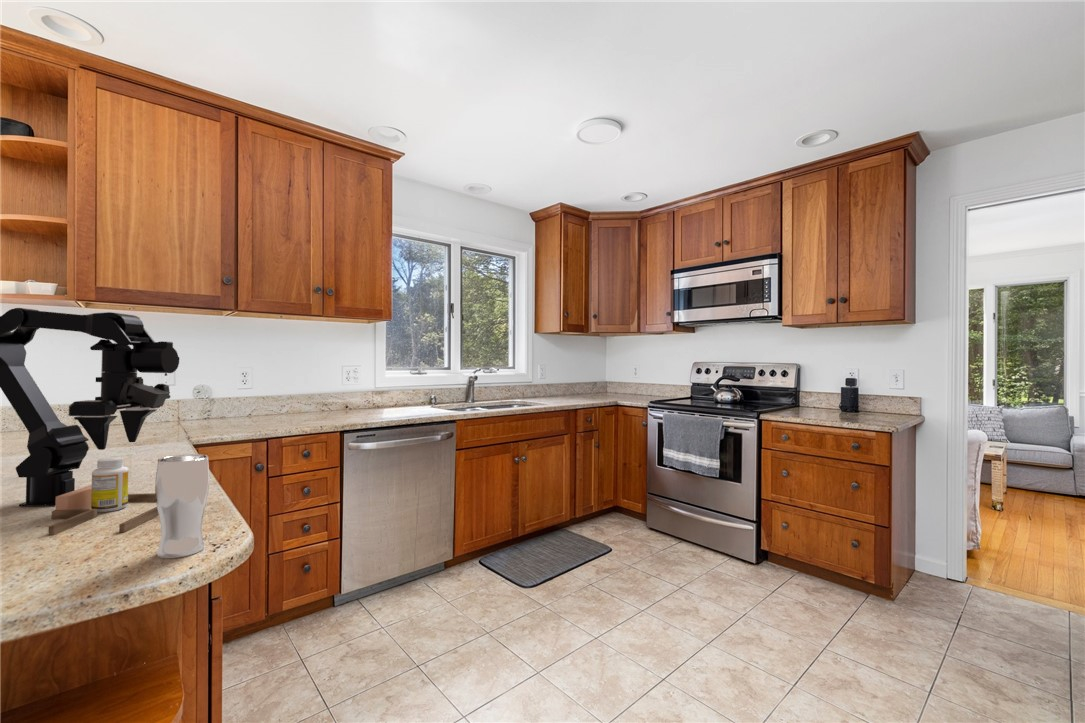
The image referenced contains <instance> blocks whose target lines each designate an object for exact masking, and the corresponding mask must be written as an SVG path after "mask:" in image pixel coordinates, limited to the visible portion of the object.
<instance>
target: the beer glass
mask: <svg viewBox="0 0 1085 723" xmlns="http://www.w3.org/2000/svg"><path fill="white" fill-rule="evenodd" d="M154 483H155V485H154V493H155V497H156V501H155V503H156V507H157V510H158V519H159V525H160V539H159V544H158V548H157V552H156V554H157V555H156V556H157V557H158V558H160V559H166V560H167V559H170V560H171V559H179V558H185V557H189V556H192V555H195V554H197V553H200V552H201V551H202V550H204V549H205V543H204V542H205V541H204V538H203V530H202V529H203V528H202V527H203V526H202V525H203V519H204V515H205V514H204V513H205V511H206V510H205V509H206V505H207V501H208V495H209V490H210V466H209V455H207V454H199V453H197V454H195V453H193V454H191V453H190V454H179V455H178V454H177V455H171V456H165V457H161V458H158V459H157V467H156V474H155V482H154Z"/></svg>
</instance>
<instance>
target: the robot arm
mask: <svg viewBox="0 0 1085 723" xmlns="http://www.w3.org/2000/svg"><path fill="white" fill-rule="evenodd" d="M40 329H48V330H55V331H56V330H58V331H69V332H70V331H71V332H78V333H79V332H80V333H84V334H86V335H89V336H92V337H95V338H100V340H98V342H96V343H95V344H93V345H91V346H90V347H89V349H90V350H91V351H101V371H100V372H101V374H100V376H98V377H97V376H96V377H95V383H100V396H95V398H94V400H91V399H86V400H76V401H73V402H72V403H71V404H70V405H69V406H68V417H73V420H74V421H78V423H79V424H80V425H81V426H82V428H83V429H84V430H85V431H86V433H87V435H88V436H89V437H90V439H91V441H92V443H93V444H94V446H95V447H96V448H97V450H99V451H100V450H101V451H102V450H103V451H104V450H105V449H106V448H107V444H108V438H109V430H110V424H111V423H112V422H113V421H115V419H117V417H118V415H115V414H116V412H117V410H119V414H120V417H121V420H122V424H123V428H124V431H125V435H126V437H127V438H126V439H127V440H128V442H129V443H135V442H136V441H137V439H138V437H139V435H140V431H141V430H142V427H143V424H144V422H145V420H146V418H147V417H149V416H150V415H152V413H155V412H156V411H157V409H159V408H161V407H163V406H164V405H165V402H166V400H168V399H169V400H170V399H171V394H170V393H171V392H170V386H169V385H168V384H165V383H158V384H156V385H154V386H153V385H147V384H144V378H143V377H142V376H138V372H139V373H141V374H143V373H144V374H145V373H146V374H150V373H151V374H152V373H153V374H173V373H175V371H177V369H178V367H179V364H180V357H179V355H178V351H177V350H176V349H175V347H174V342H173V341H158V342H157V341H155V340H154V339H153V337H152V336H151V335H150V334H149V332H148V331H147V330H146V328H145V327H144V323H143V321H142V320H141V318H140V317H139V316H138V315H133V314H126V313H119V312H111V311H109V312H108V311H107V312H95V313H90V314H88V313H87V314H76V313H75V314H74V313H66V312H53V311H45V310H44V311H43V310H38V309H32V308H24V307H15V308H11V309H9V310H7V311H6V312H5V313H3V314H2V315H0V389H1V391H2V393H3V394H4V396H5V397H6V399H7V400H8V402H9V403H10V405H11V407H12V408H13V410H14V411H15V413H16V415H17V416H18V418H19V420H20V421H21V423H22V424H23V426H24V427H25V429H26V430H27V431H28V439H27V445H26V447H27V450H28V453H29V455H28V456H27V457H26V458H25V459H24V460H23V461H21V462H20V463H19V464H18V465H17V466H16V467H15V470H16V473H17V476H18V478H25V480H26V484H25V501H23V502H21V503H18V507H45V506H46V507H51V506H52V507H53V506H55V505H56V497H57V496H60V495H63V494H66V493H69V492H72V491H75V490H76V488H75V486H76V484H75V483H76V482H75V480H76V478H75V477H74V475H73V474H74V471H73V470H77V469H80V467H81V465H82V462H83V460H84V459H85V457H86V456H87V454H88V451H89V449H90V448H89V444H88V441H89V438H87V437H86V436H85V435H84V434H83V432H82V429H81V427H80V426H79V424H72V425H66V424H64V423H63V422H62V421H61V420H60V419H59V418H58V415H56V413H55V411H54V409H53V408H52V406H51V405H50V403H49V402H48V400H47V398H46V397H45V395H44V394H43V392H42V391H41V389H40V388H39V385H38V384H37V382H36V381H35V380H34V378H33V376H32V375H31V373H30V372H29V370H28V368H27V367H26V366H25V362H26V357H27V351H26V348H25V346H26V345H28V344H29V343H30V342H32V340H33V339H34V337H35V336H36V335H35V334H36V332H37V331H38V330H40ZM112 341H113V342H112ZM131 346H132V347H131Z"/></svg>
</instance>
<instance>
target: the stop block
mask: <svg viewBox="0 0 1085 723" xmlns="http://www.w3.org/2000/svg"><path fill="white" fill-rule="evenodd" d="M91 493H92V484H90V485H87V486H84V487H81V488H78V489H74V491H72V492H69V493H66V494H63V495H60V496H57V497H56V505H54V506H55V508H54V510H71V509H91Z"/></svg>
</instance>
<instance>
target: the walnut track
mask: <svg viewBox="0 0 1085 723" xmlns="http://www.w3.org/2000/svg"><path fill="white" fill-rule="evenodd" d="M130 502H131V503H135V502H137V503H141V502H156V497H155V492H151V493H150V492H149V493H128V503H130ZM97 517H98V512H97V509H91V508H90V509H71V510H55V509H54V510H51V520H61V521H59V522H56V523H54V524H51V525H49V526H48V530H47V532H48V534H47V535H48V536H55V535H57V534H59V532H60V533H62V532H64V531H66V530H68V529H71V528H73V527H76V526H79V525H81V524H82V523H85V522H87V521H90V520H92V519H94V518H97ZM156 517H159V515H158V510H157V506H155V507H153V508H150V509H149V510H147V511H145V512H142V513H141V514H138V515H136V516H134V517H132V518H129V519H127V520H126V521H124V522H122V523H119V526H118V527H119V529H118V530H119V532H118V533H119V534H122V533H123V534H125V533H127V532H129V531H131V530H132V529H134V528H136V527H138V526H140V525H143V524H145V523H146V522H148V521H150V520H152V519H155V518H156Z"/></svg>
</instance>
